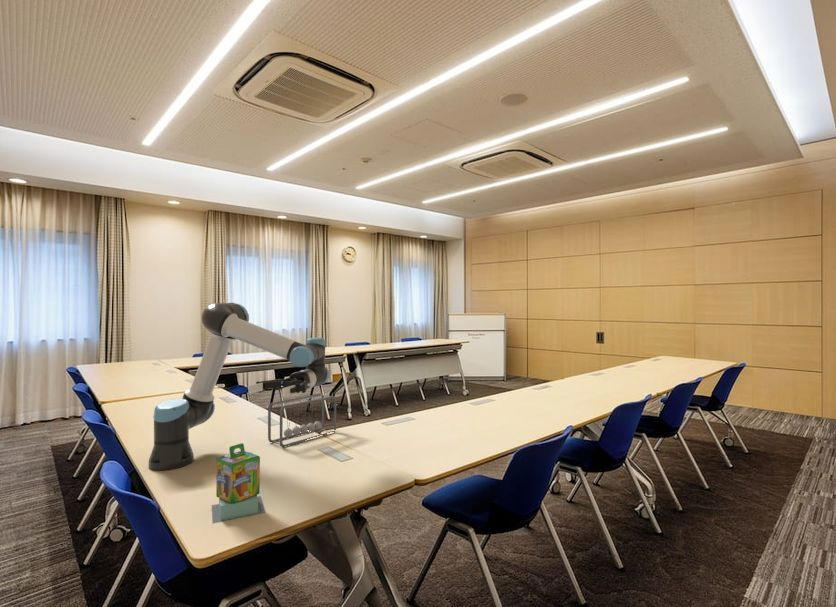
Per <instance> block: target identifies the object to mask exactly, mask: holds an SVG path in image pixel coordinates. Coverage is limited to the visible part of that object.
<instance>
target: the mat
mask: <svg viewBox="0 0 836 607" xmlns="http://www.w3.org/2000/svg"><path fill="white" fill-rule="evenodd" d="M257 497H258V513H253V514H248V515H243V516H238V517H233V518H228V519H223V520H220V510H219V503H217V504H212V505H211V516H212V517H211V520H212V524H217V523H222V522H226V521H227V522H228V521H231V520H236V519H237V520H238V519H241V518H247V517H251V516H256V515H261V514H266V509H265V506H264V503H263V500H262V497H261V495H260V496H257Z"/></svg>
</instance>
